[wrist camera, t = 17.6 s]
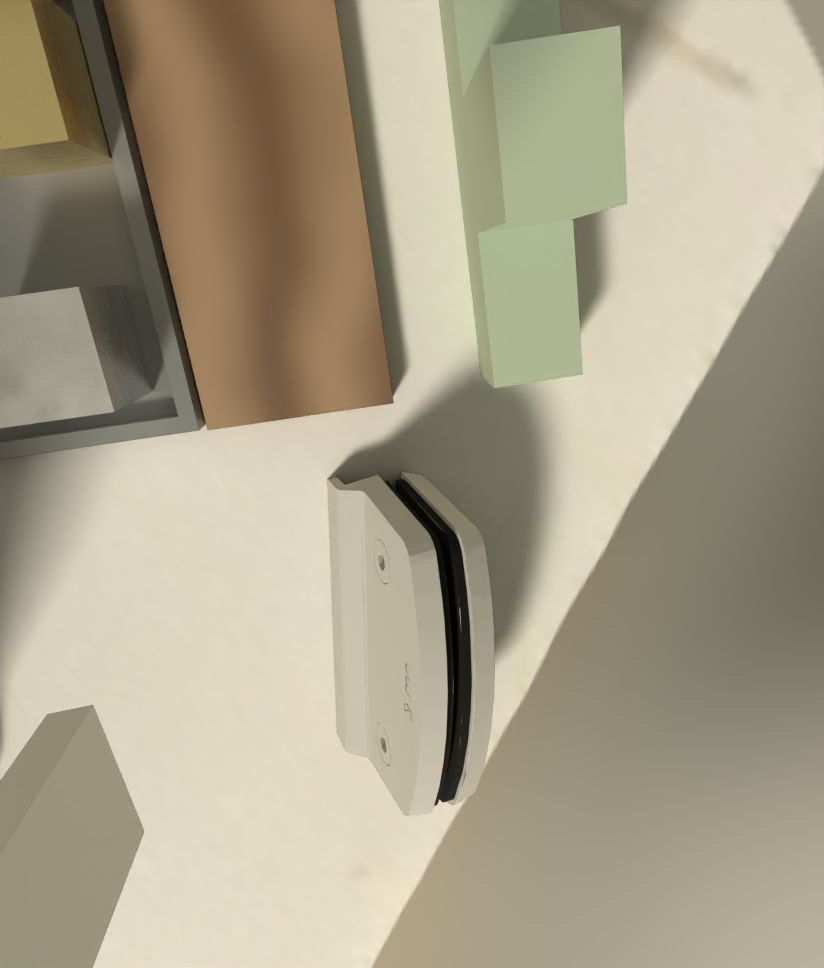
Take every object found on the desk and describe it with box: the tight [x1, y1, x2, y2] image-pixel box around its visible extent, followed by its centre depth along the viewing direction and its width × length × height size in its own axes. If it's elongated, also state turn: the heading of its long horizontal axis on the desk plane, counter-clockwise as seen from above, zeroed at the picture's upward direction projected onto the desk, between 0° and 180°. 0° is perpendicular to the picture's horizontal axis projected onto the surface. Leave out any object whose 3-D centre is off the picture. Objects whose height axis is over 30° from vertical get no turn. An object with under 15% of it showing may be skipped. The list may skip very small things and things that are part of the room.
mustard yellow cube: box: [0, 0, 114, 179], centre depth 25 cm, size 5×5×5 cm
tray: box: [0, 0, 205, 459], centre depth 29 cm, size 12×19×1 cm, turn 8°
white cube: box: [0, 285, 153, 428], centre depth 28 cm, size 5×5×5 cm
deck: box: [103, 0, 393, 430], centre depth 29 cm, size 9×19×2 cm, turn 8°
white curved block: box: [327, 472, 495, 816], centre depth 32 cm, size 17×5×10 cm, turn 0°
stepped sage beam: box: [439, 0, 627, 388], centre depth 25 cm, size 4×18×10 cm, turn 8°
